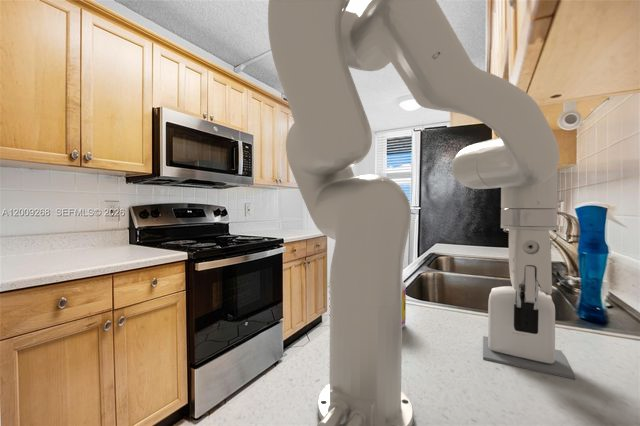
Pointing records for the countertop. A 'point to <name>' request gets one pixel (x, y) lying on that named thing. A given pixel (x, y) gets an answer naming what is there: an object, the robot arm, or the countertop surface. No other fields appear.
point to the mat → (530, 362)
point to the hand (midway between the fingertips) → (525, 330)
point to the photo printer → (517, 342)
